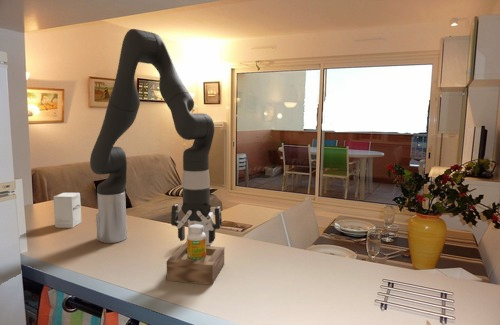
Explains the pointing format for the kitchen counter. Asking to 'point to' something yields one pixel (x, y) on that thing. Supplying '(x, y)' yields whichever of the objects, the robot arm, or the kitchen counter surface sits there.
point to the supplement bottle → (196, 243)
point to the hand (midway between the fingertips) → (196, 241)
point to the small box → (206, 229)
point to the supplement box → (67, 210)
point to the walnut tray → (195, 266)
